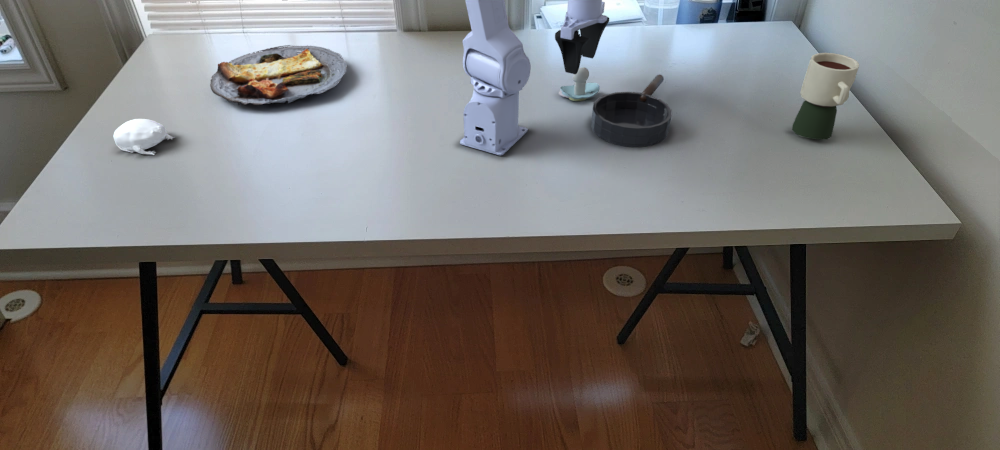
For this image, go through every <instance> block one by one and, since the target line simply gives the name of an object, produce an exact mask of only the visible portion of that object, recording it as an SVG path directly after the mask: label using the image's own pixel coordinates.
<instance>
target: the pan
mask: <svg viewBox="0 0 1000 450" xmlns="http://www.w3.org/2000/svg"><path fill="white" fill-rule="evenodd" d="M642 95H643V94H642V92H637V91H636V92H635V91H617V92H616V91H615V92H612V93H611V92H610V93H607V94H604V95H602V96H600V97H598V98H597V99H595V101H594V102H593V103H592V110H591V111H592V113H591V121H590V126H591V130H592V132H593V133H594V134H595V136H597V137H598V138H600V139H601V140H603V141H605V142H608V143H609V144H612V145H616V146H621V147H628V148H642V147H649V146H654V145H657V144H660V143H661V142H663V141H664V140H665V139H666V138H667V137H668V135H669V132H670V127H671V122H672V117H673V113H672V109H671V107H670V106H669V104H668V103H667V102H665V101H663V100H662V99H660V98H658V97H655V96H654V95H652V96H651V95H647V94H646V95H644V96H646V98H647V100H646V101H645V102H642V101H641V100H640V96H642Z"/></svg>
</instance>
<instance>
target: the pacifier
mask: <svg viewBox="0 0 1000 450" xmlns="http://www.w3.org/2000/svg"><path fill="white" fill-rule="evenodd" d="M589 78H590V71H589V69H588V68H587V67H579V70H578V72H577V74H572V80H573V82H574V85H562V86H560V87H559V89H560V90H559V91H558V95H559V96H560V97H563V98H567V99H569V100H570V101H573V102H583V101H586V100H587V99H591V98H593V97H595V96H596V95H597V94H598V93H599V92H600V88H601V86H600V84H599V83H597V82H587V81H588V79H589Z"/></svg>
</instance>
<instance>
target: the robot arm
mask: <svg viewBox="0 0 1000 450" xmlns="http://www.w3.org/2000/svg"><path fill="white" fill-rule="evenodd" d="M464 2H465V6H466V11H467V15H468V19H469V24H470V29H471V30H470V32H468V33H467V34H466V36H465V37H464V38H463V39H462V47H463V55H462V68H463V71H464V73H465V74H466V75H467V76H469V77H470V84H471V85H472V86H473V91H472V95H471V98H470V100H469V101H468V103H466V105H465V106H464V109H463V137H462V138H461V139H460V140H459V144H460V145H462V146H466V147H468V148H471V149H476V150H479V151H483V152H486V153H489V154H493V155H497V156H501V157H502V156H503V155H505V154H506V153H507V152H508V151H509V150H510V149H511V148H512V147H513V146H514V145H515V144H516V143H517V142H518V141H519V140H520V139H522V137H523V136H524V135H526V133H527V132H529V131H528V129H529V128H527V127H525V126H521V125H519V113H520V112H519V110H520V109H519V106H520V105H519V104H520V92H521V91H522V90H523V89H524V87H525V86H526V84H527V83H528V82H529V79H530V76H531V67H532V66H531V60H530V58H529V56H527V54H526V53H525V51H524V50H525V49H524V44H523V42H522V41H521V40H520V38H519V37H518V36H517V34H515V32H514V31H513V30H512V29H511V28H510V26H509V25H510V24H509V19H508V14H507V8H506V2H505V0H464ZM605 5H606V3H605V1H603V0H567V10H566V12H565V16H564V22H563V24H562V25H561V26H560V29H559V30H557V31H556V32H555V33H554V40H555V42H556V43H557V45H558V47H559V50H560V53H561V58H562V62H563V67H564V72H565V73H567V74H572V75H573V74H577V72H578V70H579V68H580V67H581V66H580V65H581V62H582V57H583V58H588V59H594V57H595V55H596V53H597V50H598V48H599V47H598V46H599V43H600V40H601V38H602V35H603V33H604V30H605V29H606V27H607V25H608V24H609V23H610V17H609V16H608V15H605V14H604V13H605Z"/></svg>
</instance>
